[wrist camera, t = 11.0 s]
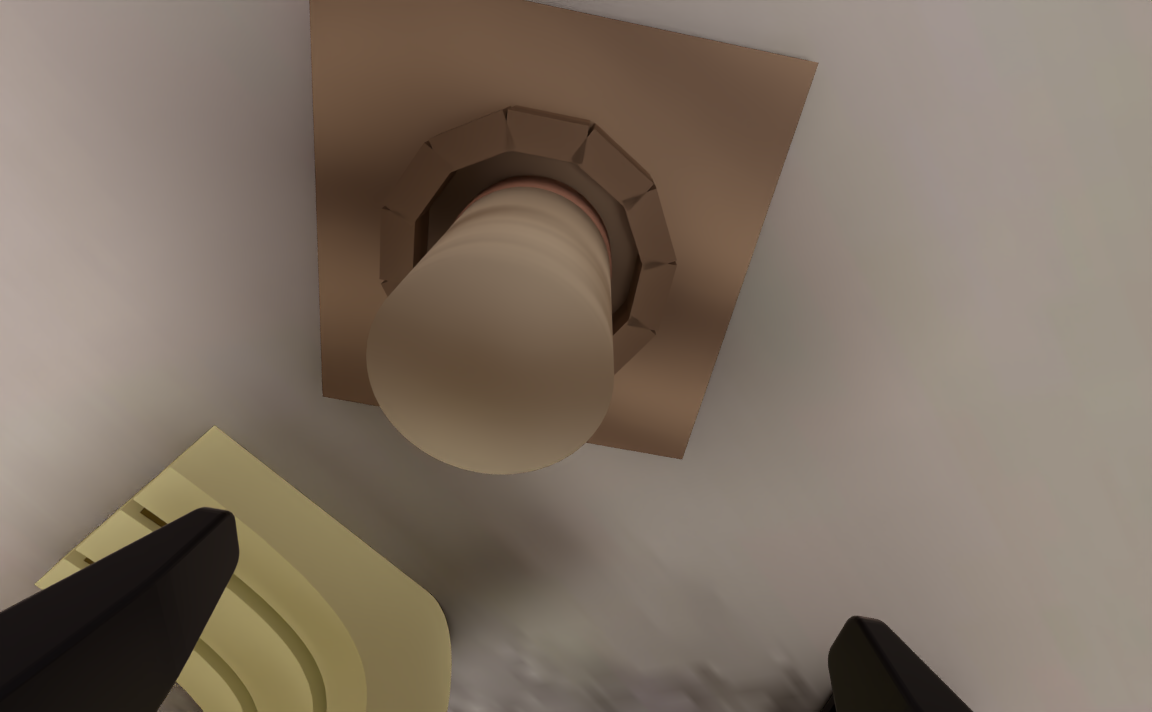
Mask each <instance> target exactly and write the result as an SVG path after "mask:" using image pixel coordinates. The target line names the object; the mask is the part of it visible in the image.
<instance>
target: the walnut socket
mask: <svg viewBox="0 0 1152 712" xmlns="http://www.w3.org/2000/svg"><path fill="white" fill-rule="evenodd" d="M309 2H310V32H311V62H312V92H313V122H314V152H315V182H316V211H317V241H318V271H319V301H320V331H321V361H322V391H323V397H328V398H334V399H340V400H346V401H351V402H357V403H363V404H368V405H374V406H380V405H379V403H378V401H377V399H376V398H375V395H374V393H373V390H372V387H371V384H370V380H369V376H368V371H367V360H366V351H367V340H368V336H369V332H370V328H371V325H372V323H373V321H374V318H375V316H376V313H377V312H378V310H379V309H380V307H381V305H382V304H383V302H384V301H385V300H386V299H387V297H388V296H389V295H390V294H391V293H392V292H393V291H394V289H395V288H396V287H397V286H398V285H399V284H400V283H401V282H402V280H403V279H404V278H405V277H406V276H407V275H408V274H409V273H410V272H411V270H412V269H413V268H414V267H415V266H416V265H417V264H418V263H419V262H420V260H421V259H422V258H423V257H424V256H425V255H426V254H427V253H428V251H429V250H430V249H431V248H432V247H433V246H434V245H435V244H436V243H437V241H438V240H439V239H440V238H441V237H442V236H443V235H444V234H445V233H446V231H447V230H448V229H449V228H450V227H451V226H452V225H453V223H454V222H455V220H456V218H457V217H458V216H459V214H460V213H461V212H462V211H463V210H464V209H465V208H466V206H467V205H468V204H469V203H470V202H471V201H472V200H473V199H474V198H475V197H476V196H477V195H478V194H479V193H480V192H482V191H483V190H484V189H486V188H487V187H489V186H490V185H492V184H494V183H497V182H499V181H501V180H504V179H508V178H511V177H517V176H540V177H546V178H550V179H554V180H557V181H559V182H561V183H564V184H566V185H568V186H569V187H571V188H573V189H575V190H576V191H577V192H579V193H580V194H581V195H583V196H584V197H585V198H586V199H587V200H588V201H589V202H590V203H591V204H592V206H593V207H594V208H595V209H596V211H597V212H598V214H599V215H600V217H601V219H602V221H603V223H604V225H605V227H606V230H607V233H608V237H609V240H610V247H611V261H612V277H611V304H612V330H613V357H614V387H613V393H612V398H611V402H610V405H609V408H608V410H607V413H606V415H605V417H604V419H603V421H602V423H601V424H600V426H599V427H598V429H597V430H596V431H595V433H594V434H593V435H592V436H591V438H590V439H589V440H588V441H587V442H586V443H591V444H597V445H603V446H608V447H614V448H620V449H626V450H631V451H637V452H643V453H648V454H654V455H660V456H666V457H671V458H677V459H682V458H683V455H684V452H685V449H686V447H687V444H688V441H689V438H690V435H691V432H692V429H693V426H694V423H695V420H696V418H697V415H698V412H699V409H700V406H701V403H702V400H703V397H704V394H705V391H706V388H707V386H708V383H709V380H710V377H711V374H712V371H713V368H714V365H715V362H716V359H717V356H718V354H719V351H720V348H721V345H722V342H723V339H724V336H725V333H726V330H727V327H728V325H729V322H730V319H731V316H732V313H733V310H734V307H735V304H736V301H737V298H738V295H739V293H740V290H741V287H742V284H743V281H744V278H745V275H746V272H747V269H748V266H749V264H750V261H751V258H752V255H753V252H754V249H755V246H756V243H757V240H758V237H759V234H760V232H761V229H762V226H763V223H764V220H765V217H766V214H767V211H768V208H769V205H770V202H771V200H772V197H773V194H774V191H775V188H776V185H777V182H778V179H779V176H780V173H781V171H782V168H783V165H784V162H785V159H786V156H787V153H788V150H789V147H790V144H791V141H792V139H793V136H794V133H795V130H796V127H797V124H798V121H799V118H800V115H801V112H802V110H803V107H804V104H805V101H806V98H807V95H808V92H809V89H810V86H811V83H812V80H813V78H814V75H815V72H816V69H817V66H818V63H817V62H812V61H807V60H802V59H798V58H793V57H788V56H784V55H779V54H774V53H770V52H765V51H760V50H755V49H751V48H746V47H741V46H737V45H732V44H727V43H723V42H718V41H713V40H708V39H704V38H699V37H694V36H690V35H685V34H680V33H676V32H671V31H666V30H662V29H657V28H652V27H647V26H643V25H638V24H633V23H629V22H624V21H619V20H615V19H610V18H605V17H600V16H596V15H591V14H586V13H582V12H577V11H572V10H568V9H563V8H558V7H553V6H549V5H544V4H539V3H535V2H530V1H525V0H309Z"/></svg>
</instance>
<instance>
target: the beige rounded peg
mask: <svg viewBox="0 0 1152 712" xmlns="http://www.w3.org/2000/svg"><path fill="white" fill-rule="evenodd" d="M611 277H612V261H611V247H610V240H609V237H608V233H607V230H606V227H605V225H604V223H603V221H602V219H601V217H600V215H599V214H598V212H597V211H596V209H595V208H594V207H593V206H592V204H591V203H590V202H589V201H588V200H587V199H586V198H585V197H584V196H583V195H581V194H580V193H579V192H577V191H576V190H575V189H573V188H571V187H569V186H568V185H566V184H564V183H561V182H559V181H557V180H554V179H550V178H546V177H540V176H517V177H511V178H508V179H504V180H501V181H499V182H497V183H494V184H492V185H490V186H489V187H487V188H486V189H484V190H483V191H482V192H480V193H479V194H478V195H477V196H476V197H475V198H474V199H473V200H472V201H471V202H470V203H469V204H468V205H467V206H466V208H465V209H464V210H463V211H462V212H461V213H460V214H459V216H458V217H457V218H456V220H455V222H454V223H453V225H452V226H451V227H450V228H449V229H448V230H447V231H446V233H445V234H444V235H443V236H442V237H441V238H440V239H439V240H438V241H437V243H436V244H435V245H434V246H433V247H432V248H431V249H430V250H429V251H428V253H427V254H426V255H425V256H424V257H423V258H422V259H421V260H420V262H419V263H418V264H417V265H416V266H415V267H414V268H413V269H412V270H411V272H410V273H409V274H408V275H407V276H406V277H405V278H404V279H403V280H402V282H401V283H400V284H399V285H398V286H397V287H396V288H395V289H394V291H393V292H392V293H391V294H390V295H389V296H388V297H387V299H386V300H385V301H384V302H383V304H382V305H381V307H380V309H379V310H378V312H377V313H376V316H375V318H374V321H373V323H372V325H371V328H370V332H369V336H368V340H367V351H366V360H367V371H368V376H369V380H370V384H371V387H372V390H373V393H374V395H375V398H376V399H377V401H378V403H379V405H380V407H381V409H382V411H383V412H384V414H385V415H386V416H387V418H388V419H389V421H390V422H391V423H392V424H393V425H394V427H395V428H396V429H397V430H398V431H399V432H400V433H401V434H402V435H403V436H404V437H405V438H406V439H407V440H409V441H410V442H411V443H412V444H414V445H415V446H416V447H418V448H419V449H420V450H422V451H423V452H425V453H427V454H429V455H430V456H432V457H434V458H436V459H438V460H440V461H442V462H444V463H447V464H449V465H452V466H455V467H458V468H461V469H464V470H469V471H473V472H478V473H486V474H518V473H525V472H530V471H535V470H538V469H541V468H544V467H547V466H550V465H552V464H554V463H557V462H559V461H561V460H563V459H564V458H566V457H568V456H569V455H571V454H573V453H574V452H575V451H576V450H578V449H579V448H580V447H581V446H583V445H584V444H585V443H586V442H587V441H588V440H589V439H590V438H591V436H592V435H593V434H594V433H595V431H596V430H597V429H598V427H599V426H600V424H601V423H602V421H603V419H604V417H605V415H606V413H607V410H608V408H609V405H610V402H611V398H612V393H613V387H614V357H613V330H612V304H611Z"/></svg>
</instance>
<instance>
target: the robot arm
mask: <svg viewBox="0 0 1152 712" xmlns="http://www.w3.org/2000/svg"><path fill="white" fill-rule="evenodd" d="M238 560H239V543H238V536H237V528H236V521H235V516H234V515H233V513H232V512H230V511H228V510H222V509H216V508H210V507H201V508H198V509H195V510H193V511H191V512H189V513H187V514H186V515H184V516H182V517H180V518H178V519H176V520H174V521H172V522H170V523H169V524H167V525H165V526H163V527H161V528H159V529H157V530H155V531H153V532H151V533H150V534H148V535H146V536H144V537H142V538H140V539H138V540H136V541H134V542H132V543H131V544H129V545H127V546H125V547H123V548H121V549H119V550H117V551H115V552H114V553H112V554H110V555H108V556H106V557H104V558H102V559H100V560H98V561H96V562H95V563H93V564H91V565H89V566H87V567H85V568H83V569H81V570H79V571H77V572H76V573H74V574H72V575H70V576H68V577H66V578H64V579H62V580H60V581H59V582H57V583H55V584H53V585H51V586H49V587H47V588H45V589H43V590H41V591H40V592H38V593H36V594H34V595H32V596H30V597H28V598H26V599H24V600H22V601H21V602H19V603H17V604H15V605H13V606H11V607H9V608H7V609H5V610H3V611H2V612H0V712H157V710H158V708H159V707H160V705H161V704H162V702H163V701H164V699H165V698H166V696H167V695H168V693H169V691H170V690H171V688H172V687H173V685H174V683H175V682H176V680H177V678H178V677H179V675H180V673H181V671H182V670H183V668H184V666H185V664H186V662H187V661H188V659H189V657H190V655H191V653H192V651H193V649H194V647H195V645H196V644H197V642H198V640H199V638H200V636H201V634H202V632H203V630H204V628H205V626H206V624H207V623H208V621H209V619H210V617H211V615H212V613H213V611H214V609H215V607H216V605H217V603H218V602H219V600H220V598H221V596H222V594H223V592H224V590H225V588H226V586H227V584H228V582H229V580H230V579H231V577H232V575H233V573H234V571H235V569H236V566H237V564H238ZM828 668H829V674H830V679H831V685H832V690H833V695H832V696H831V698H830V699H829V701H828V702H827V704H826V705H825V707H824V708H823V710H822V711H821V712H973V711H972V710H971V709H970V708H969V707H968V706H967V705H966V704H965V703H964V702H963V701H962V700H961V699H960V698H959V697H958V696H957V695H956V694H955V693H954V692H953V691H952V690H951V689H950V688H949V687H948V686H947V685H946V684H945V683H944V682H943V681H942V680H941V679H940V678H939V677H938V676H937V675H936V674H935V673H934V672H933V671H932V670H931V669H930V668H929V667H928V666H927V665H926V664H925V663H924V662H923V661H922V660H921V659H920V658H919V657H918V656H917V655H916V654H915V653H914V652H913V651H912V650H911V649H910V648H909V647H908V646H907V645H906V644H905V643H904V642H903V641H902V640H901V639H900V638H899V637H898V636H897V635H896V634H895V633H894V632H893V631H892V630H891V629H890V628H889V627H888V626H887V625H886V624H885V623H884V622H882V621H880V620H878V619H874V618H868V617H862V616H852V617H851V618H849V619H848V620H847V622H846V623H845V625H844V627H843V628H842V630H841V631H840V633H839V635H838V636H837V638H836V640H835V641H834V643H833V645H832V646H831V648H830V651H829V655H828Z"/></svg>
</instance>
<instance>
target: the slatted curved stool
mask: <svg viewBox="0 0 1152 712" xmlns="http://www.w3.org/2000/svg"><path fill="white" fill-rule="evenodd" d="M201 507H210V508H216V509H222V510H228V511H230V512H232V513H233V515H234V516H235V521H236V528H237V536H238V543H239V560H238V564H237V566H236V569H235V571H234V573H233V575H232V577H231V579H230V580H229V582H228V584H227V586H226V588H225V590H224V592H223V594H222V596H221V598H220V600H219V602H218V603H217V605H216V607H215V609H214V611H213V613H212V615H211V617H210V619H209V621H208V623H207V624H206V626H205V628H204V630H203V632H202V634H201V636H200V638H199V640H198V642H197V644H196V645H195V647H194V649H193V651H192V653H191V655H190V657H189V659H188V661H187V662H186V664H185V666H184V668H183V670H182V671H181V673H180V675H179V677H178V678H177V680H176V682H177V683H178V684H179V685H180V686H181V687H182V688H184V689H185V690H186V691H187V693H188V694H189V695H190V696H191V697H192V698H193V699H194V701H195V702H196V703H197V704H198V705H199V706H200V707H201V709H202V710H203V712H447V709H448V703H449V695H450V685H451V665H452V664H451V643H450V635H449V629H448V626H447V622H446V618H445V615H444V613H443V611H442V609H441V607H440V606H439V604H438V602H437V601H436V599H435V598H434V597H433V596H432V595H431V594H430V593H429V592H427V591H426V590H425V589H424V588H422V587H421V586H420V585H418V584H417V583H416V582H415V581H413V580H412V579H411V578H409V577H408V576H407V575H406V574H404V573H403V572H402V571H401V570H399V569H398V568H397V567H395V566H394V565H393V564H392V563H390V562H389V561H388V560H386V559H385V558H384V557H383V556H381V555H380V554H379V553H377V552H376V551H375V550H374V549H372V548H371V547H370V546H368V545H367V544H366V543H365V542H363V541H362V540H361V539H360V538H358V537H357V536H356V535H354V534H353V533H352V532H351V531H349V530H348V529H347V528H345V527H344V526H343V525H342V524H340V523H339V522H338V521H336V520H335V519H334V518H333V517H331V516H330V515H329V514H327V513H326V512H325V511H324V510H322V509H321V508H320V507H319V506H317V505H316V504H315V503H313V502H312V501H311V500H310V499H308V498H307V497H306V496H304V495H303V494H302V493H301V492H299V491H298V490H297V489H295V488H294V487H293V486H292V485H290V484H289V483H288V482H286V481H285V480H284V479H283V478H281V477H280V476H279V475H278V474H276V473H275V472H274V471H272V470H271V469H270V468H269V467H267V466H266V465H265V464H263V463H262V462H261V461H260V460H258V459H257V458H256V457H254V456H253V455H252V454H251V453H249V452H248V451H247V450H246V449H244V448H243V447H242V446H240V445H239V444H238V443H237V442H235V441H234V440H233V439H231V438H230V437H229V436H228V435H226V434H225V433H224V432H222V431H221V430H220V429H219V428H217V427H216V426H215V425H214V426H213V427H212V428H211V429H210V430H209V431H208V432H206V433H205V434H204V435H203V436H202V437H201V438H200V439H198V440H197V441H196V442H195V443H194V444H193V445H192V446H190V447H189V448H188V449H187V450H186V451H185V452H184V453H182V454H181V455H180V456H179V457H178V458H177V459H176V460H174V461H173V462H172V463H171V464H170V465H169V466H168V467H166V468H165V469H164V470H163V471H162V472H161V473H160V474H159V475H158V476H157V477H156V478H155V479H153V480H151V481H150V482H149V483H148V484H147V485H146V486H145V487H143V488H142V489H141V490H140V491H139V492H138V493H137V494H135V495H134V496H133V497H132V498H131V499H130V500H129V501H127V502H126V503H125V504H124V505H123V506H122V507H121V508H119V509H118V510H117V511H116V512H115V513H114V514H113V515H111V516H110V517H109V518H108V519H107V520H106V521H105V522H104V523H103V524H102V525H100V526H99V527H98V528H96V529H95V530H94V531H93V532H92V533H91V534H90V535H88V536H87V537H86V538H85V539H84V540H83V541H82V542H80V543H79V544H78V545H77V546H76V547H75V548H74V549H72V550H71V551H70V552H69V553H68V554H67V555H66V556H64V557H63V558H62V559H61V560H60V561H59V562H58V563H57V564H56V565H55V566H53V567H52V568H51V569H50V570H49V571H48V572H47V573H46V574H45V575H44V576H43V577H42V578H41V579H40V580H39V581H38V582H37V583H36V584H34V585H35V586H37V587H39V588H40V589H42V590H43V589H45V588H47V587H49V586H51V585H53V584H55V583H57V582H59V581H60V580H62V579H64V578H66V577H68V576H70V575H72V574H74V573H76V572H77V571H79V570H81V569H83V568H85V567H87V566H89V565H91V564H93V563H95V562H96V561H98V560H100V559H102V558H104V557H106V556H108V555H110V554H112V553H114V552H115V551H117V550H119V549H121V548H123V547H125V546H127V545H129V544H131V543H132V542H134V541H136V540H138V539H140V538H142V537H144V536H146V535H148V534H150V533H151V532H153V531H155V530H157V529H159V528H161V527H163V526H165V525H167V524H169V523H170V522H172V521H174V520H176V519H178V518H180V517H182V516H184V515H186V514H187V513H189V512H191V511H193V510H195V509H198V508H201Z"/></svg>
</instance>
